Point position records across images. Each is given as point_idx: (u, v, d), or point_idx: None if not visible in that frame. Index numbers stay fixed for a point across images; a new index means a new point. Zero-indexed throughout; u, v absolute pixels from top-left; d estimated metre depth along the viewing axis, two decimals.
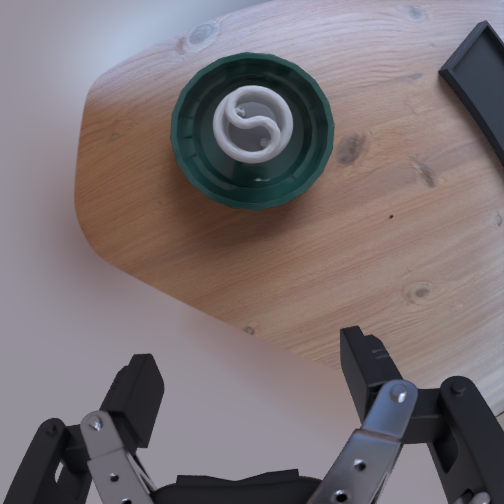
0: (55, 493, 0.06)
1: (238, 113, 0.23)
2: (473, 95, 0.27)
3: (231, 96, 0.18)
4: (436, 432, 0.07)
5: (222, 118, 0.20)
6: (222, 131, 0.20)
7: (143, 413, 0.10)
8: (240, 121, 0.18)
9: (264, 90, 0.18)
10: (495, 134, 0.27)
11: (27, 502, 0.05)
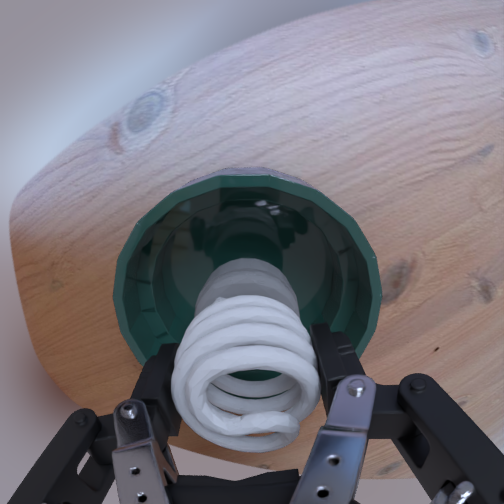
0: (74, 484, 0.06)
1: None
2: None
3: (194, 382, 0.09)
4: (397, 428, 0.08)
5: None
6: (192, 414, 0.10)
7: (173, 401, 0.11)
8: (220, 431, 0.09)
9: (263, 363, 0.09)
10: None
11: (42, 491, 0.05)
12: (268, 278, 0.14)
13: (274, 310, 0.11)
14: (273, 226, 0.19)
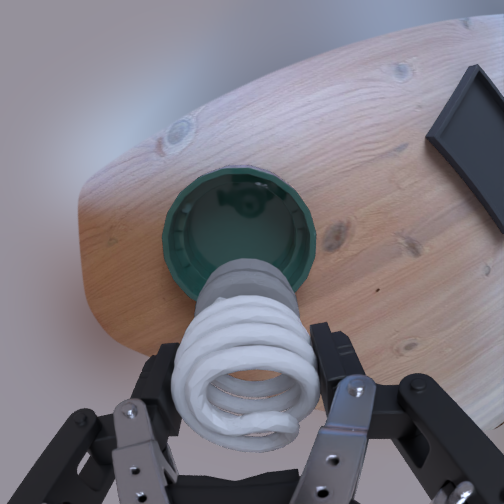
0: (74, 484, 0.06)
1: None
2: (462, 155, 0.30)
3: (194, 382, 0.09)
4: (397, 428, 0.08)
5: None
6: (192, 414, 0.10)
7: None
8: (219, 430, 0.09)
9: (263, 363, 0.09)
10: (484, 194, 0.30)
11: (42, 491, 0.05)
12: (268, 278, 0.14)
13: (274, 310, 0.11)
14: (255, 199, 0.32)
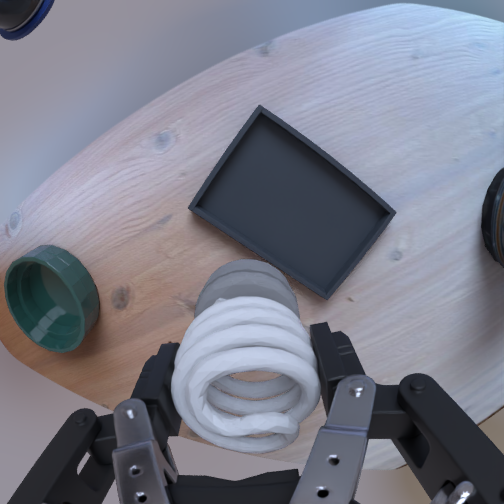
0: (74, 484, 0.06)
1: None
2: (240, 217, 0.34)
3: (194, 384, 0.09)
4: (397, 428, 0.08)
5: None
6: (192, 415, 0.10)
7: None
8: (220, 432, 0.09)
9: (263, 365, 0.09)
10: (268, 258, 0.34)
11: (42, 491, 0.05)
12: (268, 279, 0.14)
13: (274, 311, 0.11)
14: None
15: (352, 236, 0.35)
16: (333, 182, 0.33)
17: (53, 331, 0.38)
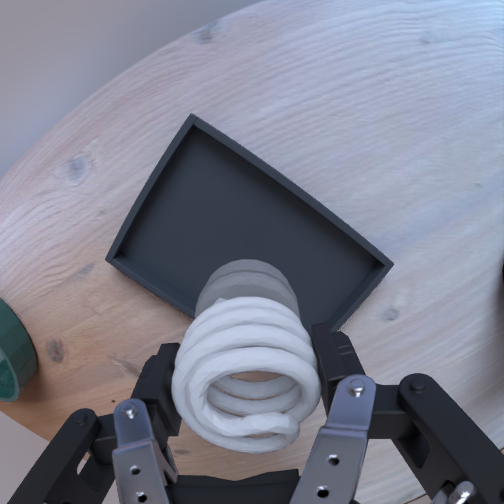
0: (74, 484, 0.06)
1: None
2: (174, 270, 0.25)
3: (194, 384, 0.09)
4: (397, 428, 0.08)
5: None
6: (192, 416, 0.10)
7: (173, 401, 0.11)
8: (220, 432, 0.09)
9: (263, 365, 0.09)
10: None
11: (42, 491, 0.05)
12: (268, 279, 0.14)
13: (274, 312, 0.11)
14: None
15: (330, 295, 0.26)
16: (304, 222, 0.24)
17: None
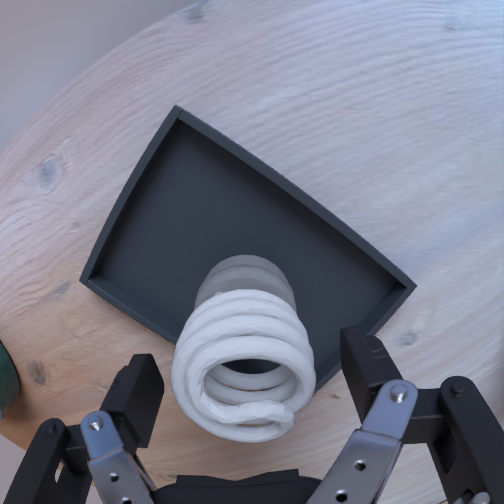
0: (55, 493, 0.06)
1: None
2: (159, 293, 0.21)
3: (192, 371, 0.09)
4: (436, 432, 0.07)
5: None
6: (190, 404, 0.11)
7: (143, 413, 0.10)
8: (217, 419, 0.09)
9: (259, 353, 0.09)
10: None
11: (27, 502, 0.05)
12: (265, 274, 0.15)
13: (270, 303, 0.12)
14: None
15: (342, 320, 0.22)
16: (313, 237, 0.20)
17: None
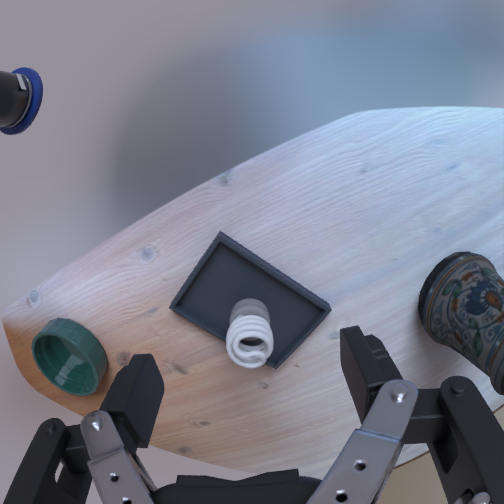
0: (55, 493, 0.06)
1: None
2: (208, 312, 0.45)
3: (235, 341, 0.34)
4: (436, 432, 0.07)
5: (231, 346, 0.35)
6: (232, 354, 0.35)
7: (142, 413, 0.10)
8: (242, 356, 0.34)
9: (254, 335, 0.34)
10: None
11: (27, 502, 0.05)
12: (257, 308, 0.39)
13: (258, 320, 0.36)
14: None
15: (296, 325, 0.46)
16: (280, 288, 0.44)
17: (72, 378, 0.48)
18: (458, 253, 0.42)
